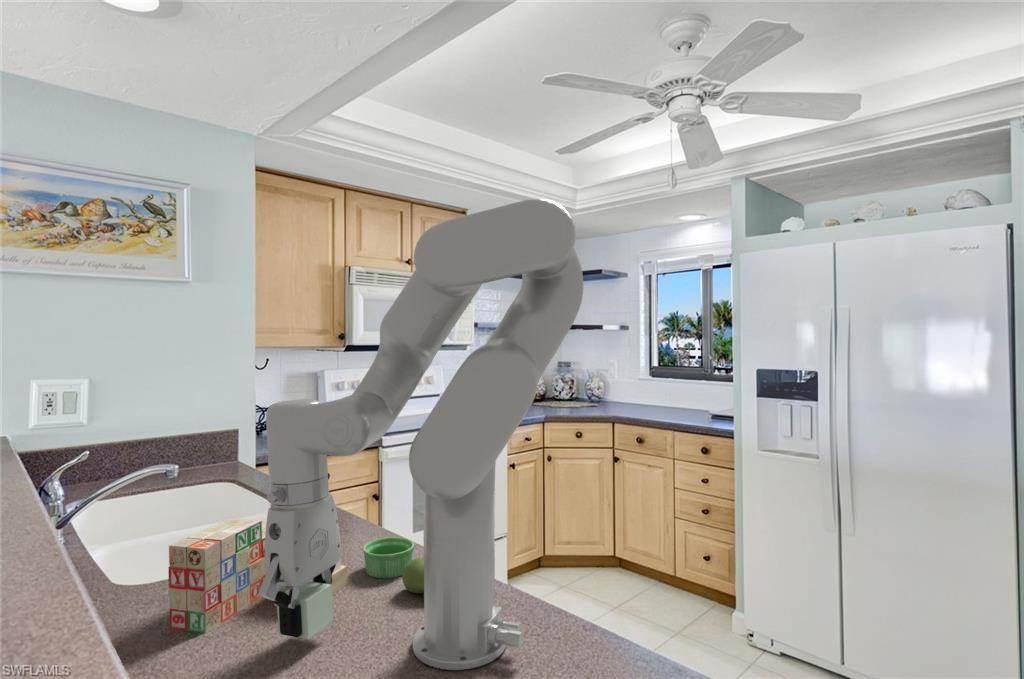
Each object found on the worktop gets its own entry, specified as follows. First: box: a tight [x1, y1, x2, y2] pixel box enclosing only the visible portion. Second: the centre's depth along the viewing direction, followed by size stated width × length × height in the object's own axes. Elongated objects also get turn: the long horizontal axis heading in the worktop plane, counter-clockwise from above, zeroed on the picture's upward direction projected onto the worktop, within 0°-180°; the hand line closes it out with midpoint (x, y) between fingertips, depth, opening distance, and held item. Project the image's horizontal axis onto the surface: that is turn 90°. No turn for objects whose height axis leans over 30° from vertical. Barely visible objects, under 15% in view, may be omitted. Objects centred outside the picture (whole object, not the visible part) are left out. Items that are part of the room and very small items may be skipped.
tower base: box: [276, 564, 349, 596], centre depth 92 cm, size 8×8×4 cm
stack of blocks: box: [167, 518, 267, 634], centre depth 90 cm, size 21×6×12 cm, turn 166°
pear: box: [401, 557, 424, 595], centre depth 91 cm, size 6×5×10 cm
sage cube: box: [276, 581, 334, 640], centre depth 77 cm, size 5×5×5 cm
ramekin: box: [362, 536, 415, 579], centre depth 101 cm, size 9×9×4 cm
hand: (306, 622), depth 77 cm, fingers closed on sage cube, 4 cm apart
